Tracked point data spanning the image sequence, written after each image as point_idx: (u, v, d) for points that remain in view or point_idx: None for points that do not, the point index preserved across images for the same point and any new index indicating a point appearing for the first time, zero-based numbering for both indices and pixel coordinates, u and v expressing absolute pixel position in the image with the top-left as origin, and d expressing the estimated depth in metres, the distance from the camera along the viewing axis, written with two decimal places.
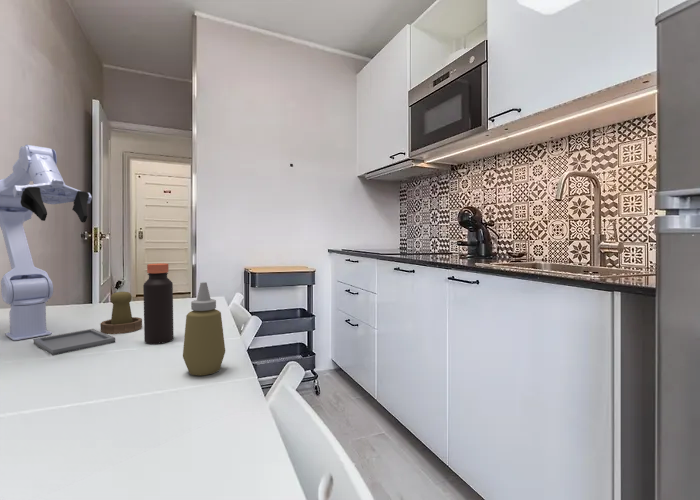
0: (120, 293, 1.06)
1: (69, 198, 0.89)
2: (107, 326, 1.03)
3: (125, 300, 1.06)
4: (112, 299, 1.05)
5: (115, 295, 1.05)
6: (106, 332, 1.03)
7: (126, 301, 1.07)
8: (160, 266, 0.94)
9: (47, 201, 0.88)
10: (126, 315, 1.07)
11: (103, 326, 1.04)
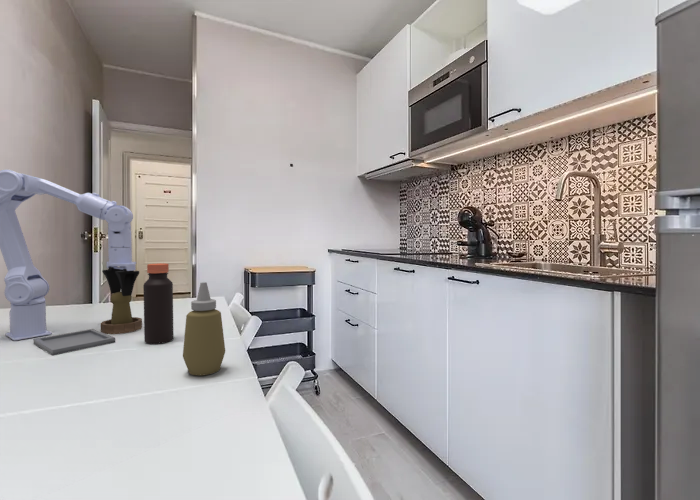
0: (120, 293, 1.06)
1: (116, 268, 1.09)
2: (107, 326, 1.03)
3: (125, 300, 1.06)
4: (112, 299, 1.05)
5: (115, 295, 1.05)
6: (106, 332, 1.03)
7: (126, 301, 1.07)
8: (160, 266, 0.94)
9: (113, 266, 1.05)
10: (126, 315, 1.07)
11: (103, 326, 1.04)
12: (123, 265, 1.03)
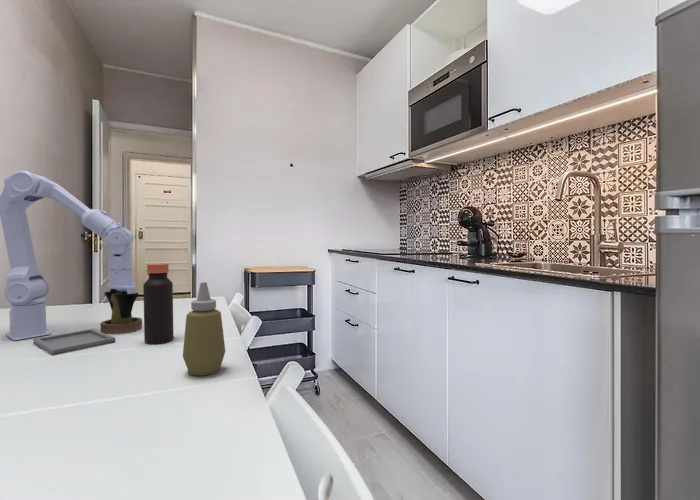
0: None
1: None
2: (107, 326, 1.03)
3: None
4: (112, 299, 1.05)
5: None
6: (106, 332, 1.03)
7: None
8: (160, 266, 0.94)
9: (113, 288, 1.05)
10: None
11: (103, 326, 1.04)
12: (123, 288, 1.03)
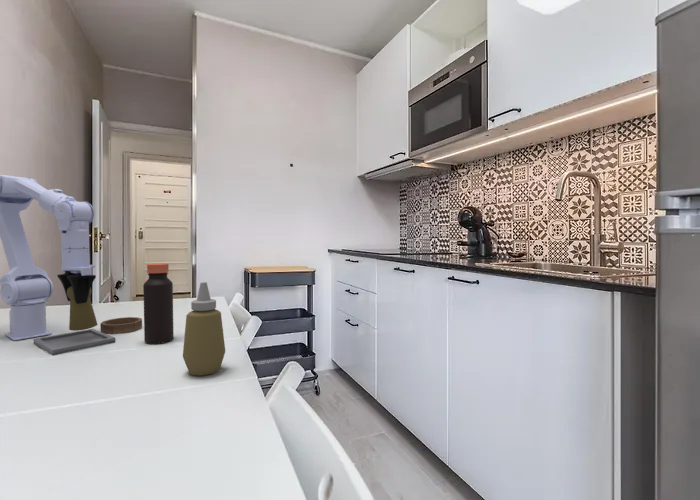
0: None
1: (72, 272, 0.97)
2: (107, 326, 1.03)
3: None
4: (68, 294, 0.93)
5: (71, 289, 0.93)
6: (106, 332, 1.03)
7: None
8: (160, 266, 0.94)
9: (66, 269, 0.93)
10: (87, 311, 0.95)
11: (103, 326, 1.04)
12: (77, 269, 0.91)
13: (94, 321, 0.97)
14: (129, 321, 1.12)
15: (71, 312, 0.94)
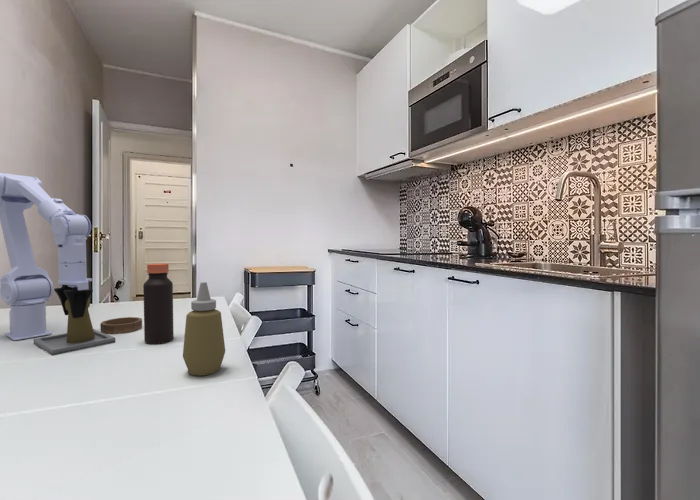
0: None
1: None
2: (107, 326, 1.03)
3: None
4: (66, 306, 0.93)
5: None
6: (106, 332, 1.03)
7: None
8: (160, 266, 0.94)
9: None
10: (85, 323, 0.94)
11: (103, 326, 1.04)
12: (74, 283, 0.90)
13: (92, 333, 0.96)
14: (129, 321, 1.12)
15: (69, 324, 0.93)
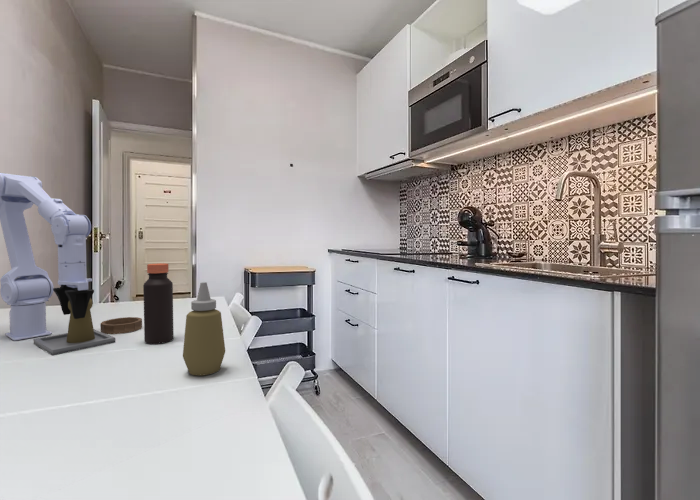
0: None
1: None
2: (107, 326, 1.03)
3: None
4: (69, 305, 0.93)
5: None
6: (106, 332, 1.03)
7: None
8: (160, 266, 0.94)
9: None
10: (86, 323, 0.95)
11: (103, 326, 1.04)
12: (74, 284, 0.90)
13: (92, 334, 0.96)
14: (129, 321, 1.12)
15: (70, 324, 0.94)
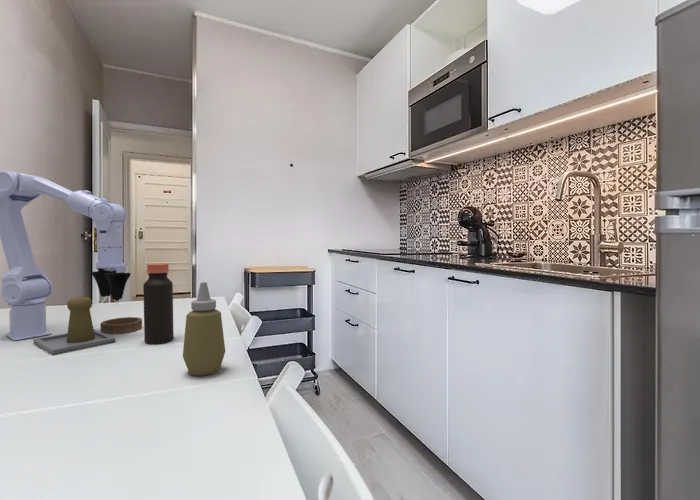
0: (78, 299, 0.94)
1: None
2: (107, 326, 1.03)
3: (84, 307, 0.94)
4: (69, 305, 0.93)
5: (72, 301, 0.93)
6: (106, 332, 1.03)
7: (86, 307, 0.95)
8: (160, 266, 0.94)
9: (102, 267, 0.98)
10: (86, 323, 0.95)
11: (103, 326, 1.04)
12: (113, 267, 0.97)
13: (92, 334, 0.96)
14: (129, 321, 1.12)
15: (70, 324, 0.94)
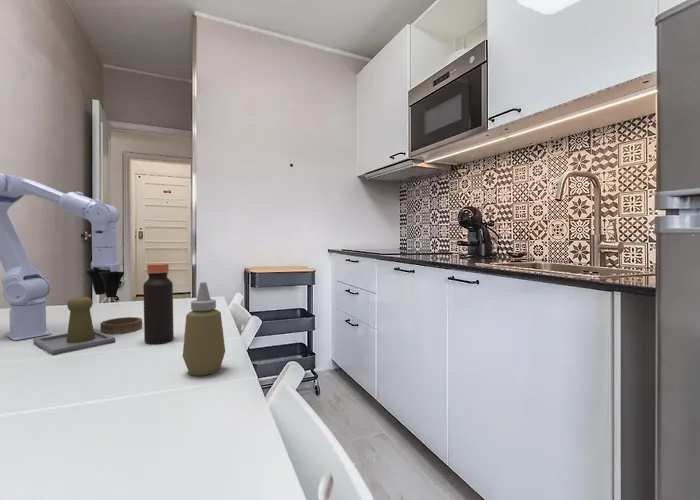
0: (78, 299, 0.94)
1: (101, 269, 1.06)
2: (107, 326, 1.03)
3: (84, 307, 0.94)
4: (69, 305, 0.93)
5: (72, 301, 0.93)
6: (106, 332, 1.03)
7: (86, 307, 0.95)
8: (160, 266, 0.94)
9: (97, 266, 1.02)
10: (86, 323, 0.95)
11: (103, 326, 1.04)
12: (107, 266, 1.00)
13: (92, 334, 0.96)
14: (129, 321, 1.12)
15: (70, 324, 0.94)
